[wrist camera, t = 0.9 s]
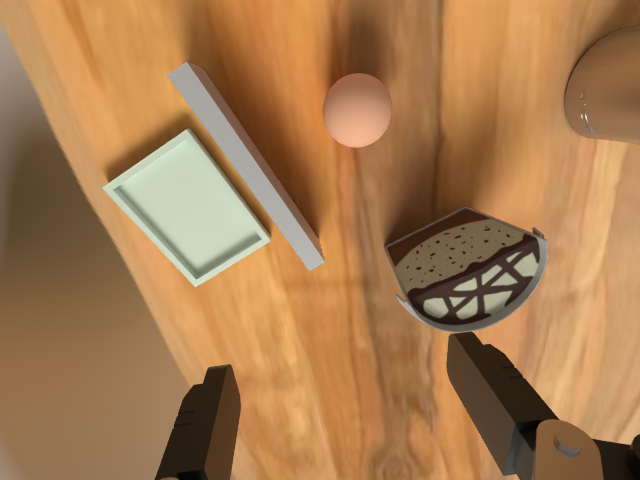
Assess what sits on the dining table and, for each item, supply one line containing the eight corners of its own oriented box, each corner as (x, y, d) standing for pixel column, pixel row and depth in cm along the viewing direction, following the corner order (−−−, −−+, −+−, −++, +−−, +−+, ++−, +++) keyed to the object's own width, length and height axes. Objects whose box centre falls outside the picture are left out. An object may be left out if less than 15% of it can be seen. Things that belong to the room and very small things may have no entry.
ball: (363, 61, 27) (381, 53, 22) (391, 121, 29) (413, 126, 24) (307, 99, 28) (313, 99, 23) (338, 154, 30) (350, 165, 25)
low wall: (203, 68, 26) (186, 61, 21) (319, 239, 33) (325, 261, 29) (187, 79, 26) (167, 75, 22) (305, 247, 33) (309, 271, 29)
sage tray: (190, 128, 28) (186, 129, 27) (271, 236, 32) (270, 240, 31) (108, 184, 29) (101, 187, 28) (198, 281, 33) (195, 287, 32)
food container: (392, 295, 37) (428, 360, 28) (371, 253, 34) (403, 309, 25) (493, 246, 36) (566, 297, 27) (479, 199, 33) (554, 236, 24)
